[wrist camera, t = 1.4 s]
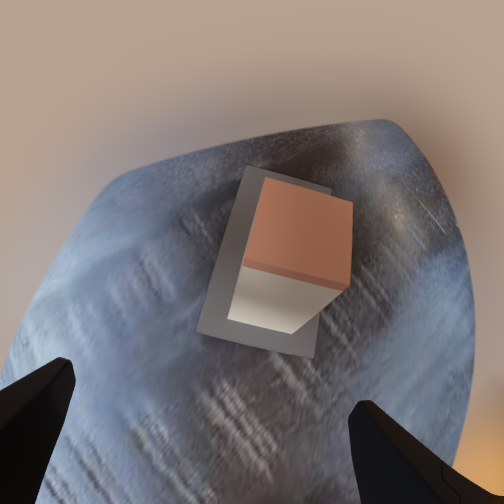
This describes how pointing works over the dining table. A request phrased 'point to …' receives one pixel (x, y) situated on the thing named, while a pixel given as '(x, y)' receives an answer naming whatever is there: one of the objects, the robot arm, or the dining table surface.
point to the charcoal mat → (228, 271)
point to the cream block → (293, 257)
